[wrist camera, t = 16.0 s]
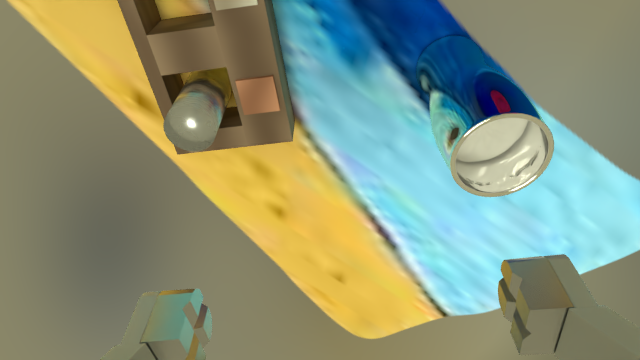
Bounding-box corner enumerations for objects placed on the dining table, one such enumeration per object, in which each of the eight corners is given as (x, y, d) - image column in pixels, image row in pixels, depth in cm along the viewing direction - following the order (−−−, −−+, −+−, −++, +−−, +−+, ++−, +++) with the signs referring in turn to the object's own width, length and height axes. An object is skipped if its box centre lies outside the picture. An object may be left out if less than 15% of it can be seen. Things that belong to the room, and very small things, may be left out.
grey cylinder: (227, 58, 40) (207, 103, 33) (238, 98, 43) (221, 148, 36) (185, 64, 41) (156, 110, 34) (198, 103, 43) (173, 154, 36)
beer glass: (395, 65, 41) (426, 155, 29) (461, 12, 38) (526, 88, 26) (437, 115, 44) (481, 215, 32) (501, 69, 41) (576, 161, 29)
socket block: (251, -104, 33) (243, -99, 30) (294, 119, 44) (292, 142, 41) (110, -81, 34) (86, -74, 30) (187, 132, 45) (176, 156, 42)
